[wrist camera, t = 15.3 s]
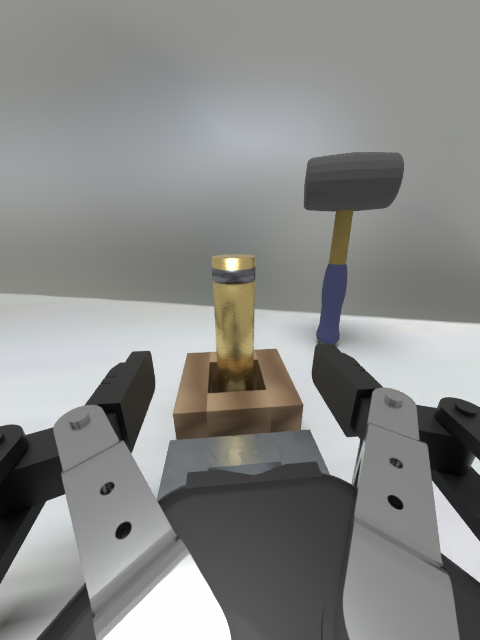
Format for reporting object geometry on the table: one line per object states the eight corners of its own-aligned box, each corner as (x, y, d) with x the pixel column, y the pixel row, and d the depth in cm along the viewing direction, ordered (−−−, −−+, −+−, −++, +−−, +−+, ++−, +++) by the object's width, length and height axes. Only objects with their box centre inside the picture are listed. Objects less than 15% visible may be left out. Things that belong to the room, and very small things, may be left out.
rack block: (178, 454, 23) (172, 413, 21) (190, 384, 34) (187, 353, 32) (298, 444, 24) (303, 404, 22) (274, 379, 34) (276, 348, 33)
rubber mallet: (357, 337, 47) (390, 157, 36) (368, 356, 40) (414, 141, 29) (292, 333, 49) (305, 162, 38) (292, 350, 42) (308, 148, 31)
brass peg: (219, 424, 27) (210, 259, 20) (219, 399, 31) (211, 254, 24) (255, 422, 27) (258, 259, 20) (251, 397, 31) (252, 253, 24)
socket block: (136, 698, 11) (120, 663, 10) (175, 473, 21) (170, 440, 20) (378, 660, 12) (397, 623, 11) (305, 462, 22) (309, 429, 21)
